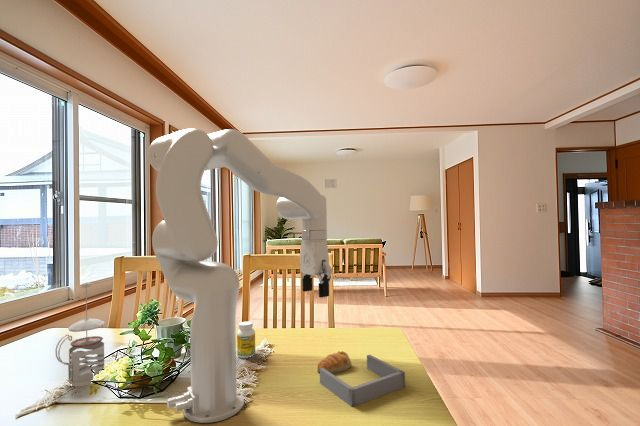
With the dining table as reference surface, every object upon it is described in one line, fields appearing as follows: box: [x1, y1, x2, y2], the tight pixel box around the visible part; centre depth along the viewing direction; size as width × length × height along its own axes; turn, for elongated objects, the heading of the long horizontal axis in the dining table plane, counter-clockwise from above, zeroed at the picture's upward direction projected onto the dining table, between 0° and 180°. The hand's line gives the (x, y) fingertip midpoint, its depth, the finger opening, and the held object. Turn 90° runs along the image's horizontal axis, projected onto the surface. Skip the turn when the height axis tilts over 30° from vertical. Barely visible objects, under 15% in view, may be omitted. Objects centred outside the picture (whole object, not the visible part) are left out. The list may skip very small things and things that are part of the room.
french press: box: [55, 282, 106, 388], centre depth 91 cm, size 10×12×25 cm
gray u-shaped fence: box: [319, 354, 406, 407], centre depth 85 cm, size 16×13×4 cm
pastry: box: [316, 350, 352, 374], centre depth 95 cm, size 9×7×4 cm
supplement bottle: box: [236, 321, 256, 359], centre depth 105 cm, size 5×5×10 cm
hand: (315, 293), depth 104 cm, fingers open, 9 cm apart
